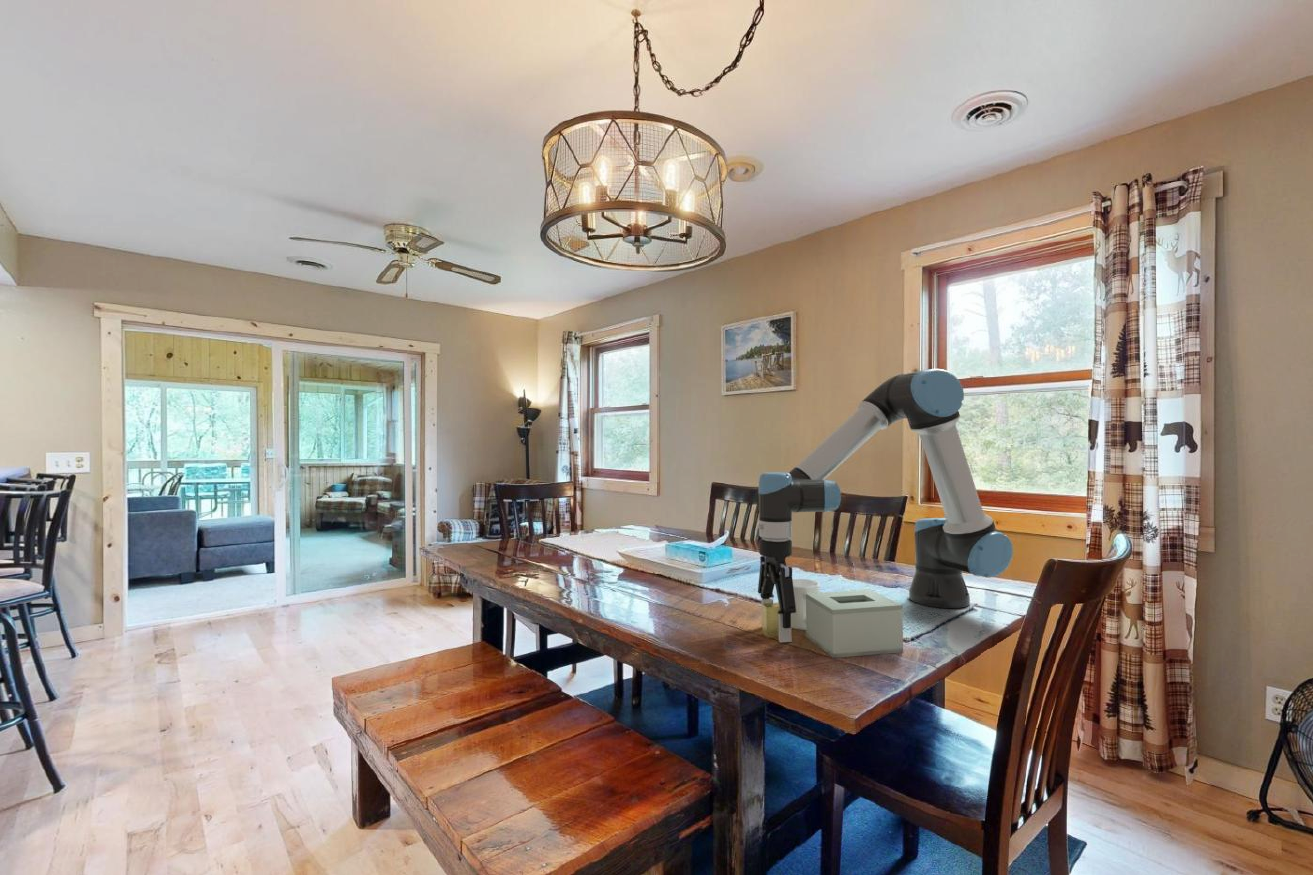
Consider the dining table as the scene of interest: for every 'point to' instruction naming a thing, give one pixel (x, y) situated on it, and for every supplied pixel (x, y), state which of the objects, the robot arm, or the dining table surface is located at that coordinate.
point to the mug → (802, 601)
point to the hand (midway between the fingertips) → (775, 633)
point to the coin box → (854, 623)
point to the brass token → (770, 619)
